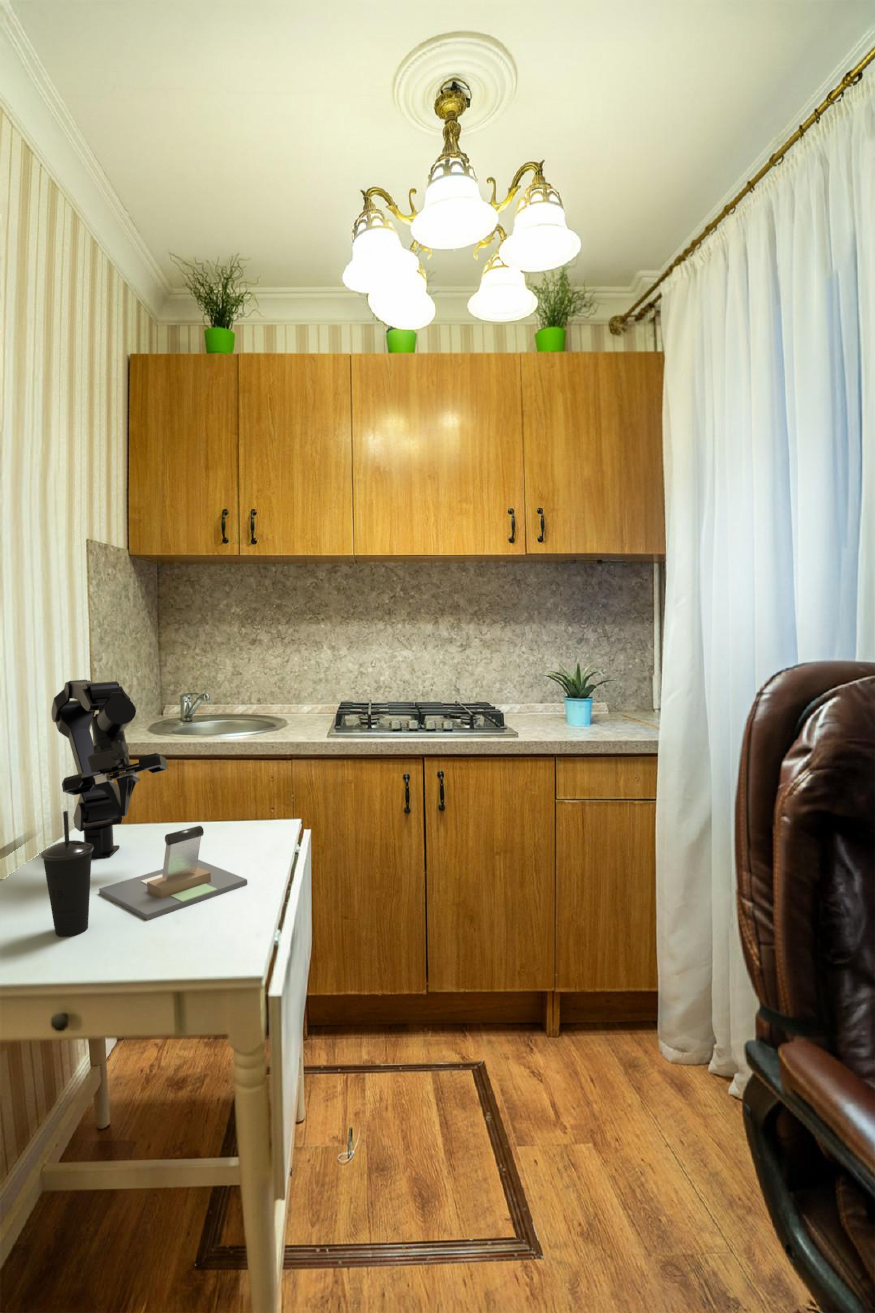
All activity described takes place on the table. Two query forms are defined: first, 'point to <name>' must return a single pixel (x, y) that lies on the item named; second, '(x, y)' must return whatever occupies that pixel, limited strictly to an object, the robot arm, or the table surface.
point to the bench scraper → (182, 852)
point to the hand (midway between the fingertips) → (123, 816)
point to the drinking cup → (68, 883)
